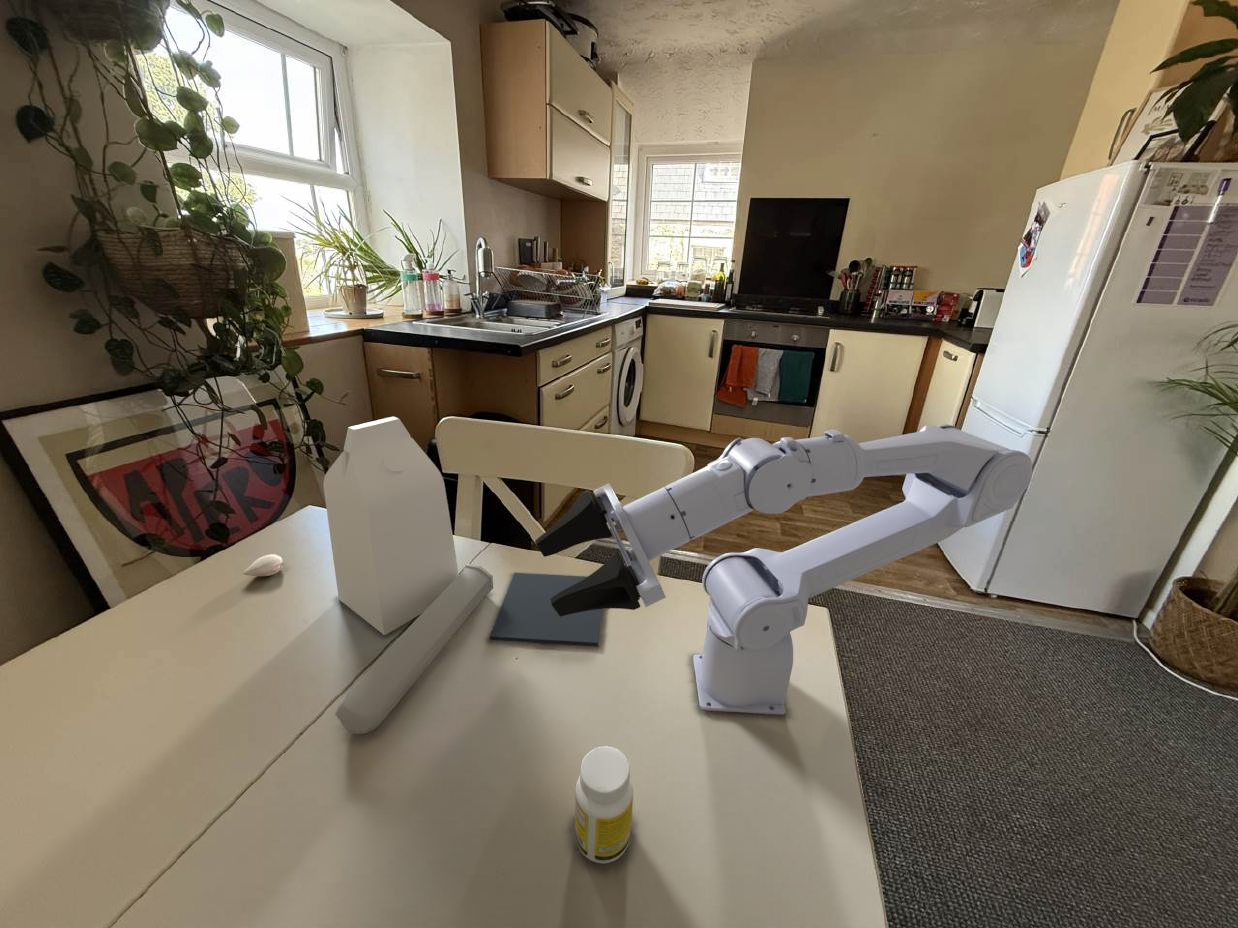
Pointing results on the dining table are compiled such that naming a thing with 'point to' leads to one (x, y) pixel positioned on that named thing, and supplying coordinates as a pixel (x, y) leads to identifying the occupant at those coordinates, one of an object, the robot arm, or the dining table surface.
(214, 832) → the dining table surface
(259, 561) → the white garlic clove
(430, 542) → the milk
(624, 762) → the supplement bottle
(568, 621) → the mat
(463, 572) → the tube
